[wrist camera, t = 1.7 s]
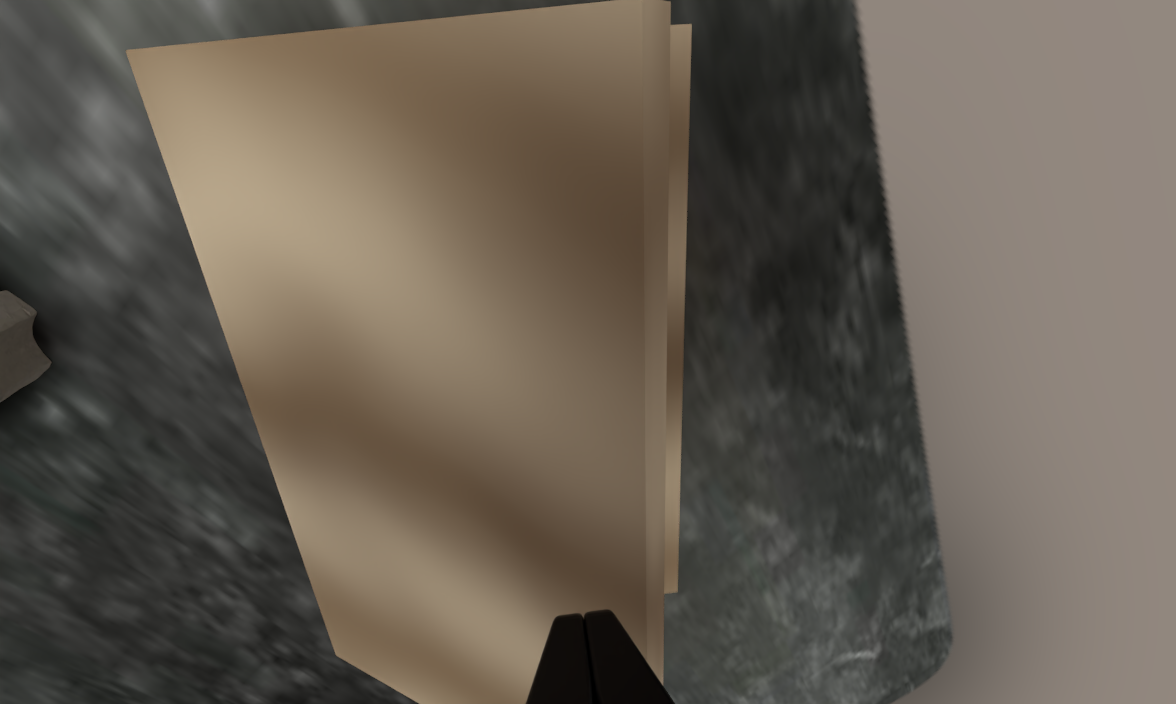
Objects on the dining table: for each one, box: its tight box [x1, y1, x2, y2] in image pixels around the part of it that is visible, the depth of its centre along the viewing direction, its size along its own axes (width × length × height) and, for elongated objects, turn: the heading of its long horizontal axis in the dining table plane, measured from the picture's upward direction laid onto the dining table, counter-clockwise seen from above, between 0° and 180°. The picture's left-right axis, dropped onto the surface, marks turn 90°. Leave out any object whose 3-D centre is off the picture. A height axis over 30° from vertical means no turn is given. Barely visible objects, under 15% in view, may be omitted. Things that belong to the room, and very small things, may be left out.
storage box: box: [664, 24, 692, 594], centre depth 17 cm, size 16×10×5 cm, turn 3°
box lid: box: [126, 0, 671, 704], centre depth 12 cm, size 16×10×1 cm
